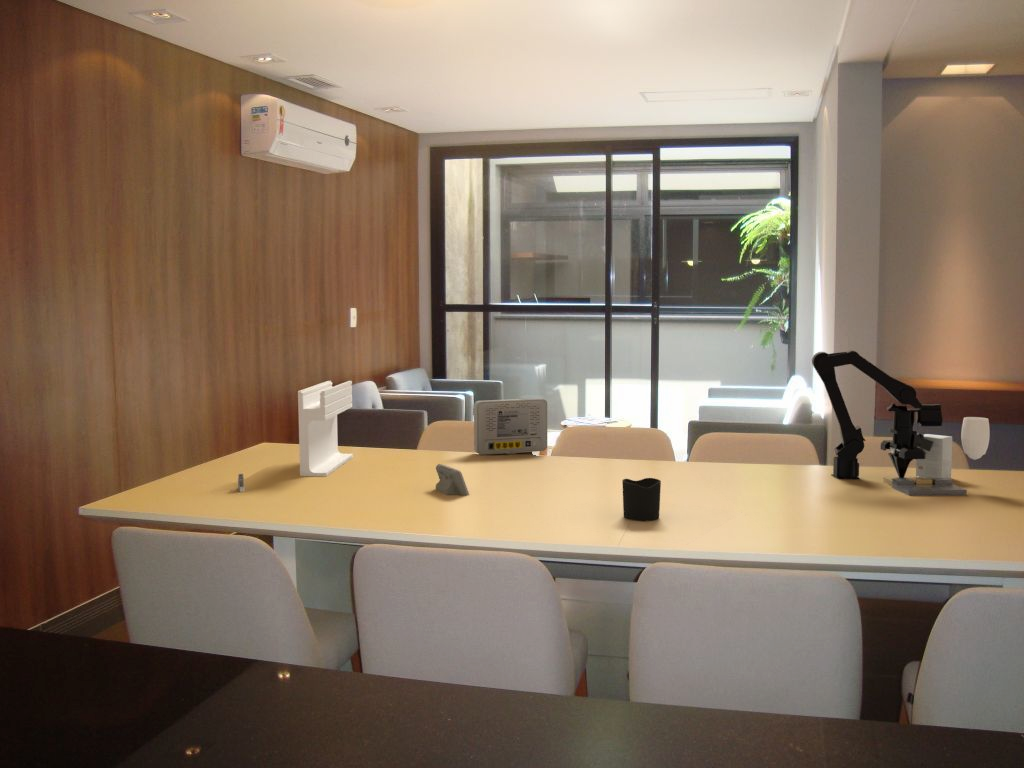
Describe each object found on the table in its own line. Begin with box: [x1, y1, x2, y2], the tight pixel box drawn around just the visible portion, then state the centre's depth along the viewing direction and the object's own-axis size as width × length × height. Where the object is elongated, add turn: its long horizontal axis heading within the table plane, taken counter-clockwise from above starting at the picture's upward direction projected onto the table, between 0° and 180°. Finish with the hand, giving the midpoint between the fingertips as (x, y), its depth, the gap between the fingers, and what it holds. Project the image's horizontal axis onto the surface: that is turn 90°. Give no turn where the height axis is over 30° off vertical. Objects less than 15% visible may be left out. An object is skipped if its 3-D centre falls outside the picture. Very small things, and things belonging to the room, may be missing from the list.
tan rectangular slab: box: [882, 476, 932, 487], centre depth 275 cm, size 14×11×3 cm
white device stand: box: [297, 380, 354, 477], centre depth 300 cm, size 35×8×28 cm, turn 176°
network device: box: [473, 397, 548, 456], centre depth 329 cm, size 26×9×20 cm, turn 108°
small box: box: [915, 433, 953, 479], centre depth 287 cm, size 8×6×13 cm
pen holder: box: [622, 477, 662, 522], centre depth 235 cm, size 9×9×10 cm
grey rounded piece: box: [960, 416, 991, 460], centre depth 268 cm, size 7×7×21 cm
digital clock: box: [435, 463, 470, 497], centre depth 262 cm, size 14×8×9 cm, turn 17°
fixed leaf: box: [891, 477, 968, 497], centre depth 266 cm, size 16×11×3 cm
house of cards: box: [230, 473, 246, 493], centre depth 261 cm, size 9×9×8 cm
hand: (901, 478), depth 284 cm, fingers closed
